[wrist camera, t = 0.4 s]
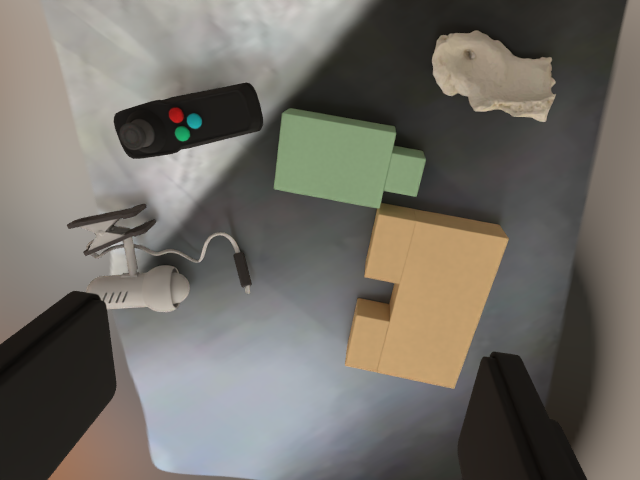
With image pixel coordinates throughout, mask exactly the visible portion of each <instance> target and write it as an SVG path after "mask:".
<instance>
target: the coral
mask: <svg viewBox="0 0 640 480" xmlns="http://www.w3.org/2000/svg"><path fill="white" fill-rule="evenodd" d="M551 61H552V58H551V57H548V58H545V57H541V58H540V59H535V60H534V59H530V58H526V59H522V58H518V57H516V56H514V55H512V53H511V52H510V51H509V50H508V49H507V48H506V47H505V46H504V45H503V44H502V43H501V42H500V41H498V40H496V41H495V40H492V39H491V38H490V37H489V36H488V35H486V34H483V33H481V32H479V31H473V32H471V33H467V34H464V33H455V34H452V33H451V34H449V35H448V36H446V35H441V36H440V37H439V39H438V40H437V44H436V48H435V51H434V54H433V58H432V64H433V75H434V77H435V79H436V82H437V84H438V85H439V86H440V88H441V89H442V91H443V93H445V94H447V95H449V96H453V95H455V94H456V93H459V94H461V95H463V96H468V98H469V102H470V105H471V106H472V107H473V109H474V111H482V112H483V111H488V110H493V109H500V110H503V111H505V112H506V113H509V114H511V115H512V116H514V117H532V118H534V119H536V120H538V121H540V122H545V121H546V119H547V114H548V111H549V109H550V107H551V105H552V103H553V101H554V98H555V96H556V94H555V95H554V94H553V93H552V92H551V87H552V86H553V85H554V84H555V83H556V82H555V80H554V79H553V78H551V75H552V74H551V70H552V66H551V64H550V62H551Z"/></svg>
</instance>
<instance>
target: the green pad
mask: <svg viewBox="0 0 640 480" xmlns="http://www.w3.org/2000/svg"><path fill="white" fill-rule="evenodd" d="M395 137H396V129H395V126H389V125H384V124H378V123H372V122H367V121H361V120H355V119H350V118H344V117H338V116H332V115H327V114H321V113H315V112H310V111H304V110H298V109H293V108H290V109H288V110H286V111H285V112H283V113H282V119H281V128H280V137H279V146H278V155H277V164H276V173H275V182H274V189H277V190H282V191H287V192H293V193H298V194H303V195H309V196H314V197H319V198H325V199H330V200H335V201H341V202H346V203H351V204H357V205H362V206H367V207H373V208H378V209H379V208H380V204H381V200H382V195H383V191H387V192H393V193H398V194H403V195H409V196H414V197H416V196H417V193H418V189H419V185H420V181H421V177H422V173H423V170H424V166H425V162H426V158H425V156H424V153H423V151H420V150H415V149H409V148H404V147H398V146H394V141H395Z"/></svg>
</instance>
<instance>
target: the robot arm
mask: <svg viewBox="0 0 640 480" xmlns="http://www.w3.org/2000/svg"><path fill="white" fill-rule="evenodd" d="M115 391H116V376H115V369H114V361H113V354H112V345H111V338H110V330H109V322H108V315H107V307H106V303H105V302H104V301H101V298H100V296H99V295H97V294H93V293H87V292H79V291H73V292H71V293H69V294H67V295H66V296H65V297H63V298H62V299H61V300H59V301H58V302H57V303H55V304H54V305H53V306H51V307H50V308H49V309H47V310H46V311H45V312H43V313H42V314H41V315H39V316H38V317H37V318H35V319H34V320H33V321H31V322H30V323H29V324H27V325H26V326H24V327H23V328H22V329H20V330H19V331H18V332H17V333H15V334H14V335H12V336H11V337H10V338H8V339H7V340H6V341H4V342H3V343H2V344H0V480H48V478H49V477H50V476H51V475H52V473H53V472H54V471H55V470H56V468H57V467H58V466H59V464H60V463H61V462H62V461H63V459H64V458H65V457H66V456H67V454H68V453H69V452H70V451H71V450H72V448H73V447H74V446H75V444H76V443H77V442H78V441H79V440H80V438H81V437H82V436H83V434H84V433H85V432H86V431H87V429H88V428H89V427H90V425H91V424H92V423H93V422H94V421H95V419H96V418H97V417H98V416H99V414H100V413H101V412H102V411H103V409H104V408H105V407H106V406H107V404H108V403H109V402H110V401H111V399H112V398H113V396H114V394H115ZM458 459H459V464H460V469H461V474H462V479H463V480H587V478H586V476H585V474H584V472H583V470H582V468H581V466H580V464H579V462H578V460H577V458H576V456H575V454H574V452H573V450H572V448H571V446H570V444H569V442H568V440H567V438H566V436H565V434H564V432H563V430H562V428H561V426H560V425H559V423H558V422H556V421H555V420H553V419H549V416H548V414H547V412H546V410H545V408H544V406H543V404H542V402H541V399H540V397H539V395H538V393H537V391H536V389H535V387H534V385H533V383H532V380H531V378H530V376H529V374H528V372H527V370H526V368H525V366H524V363H523V361H522V359H521V358H520V356H518V355H514V354H507V353H500V352H492V353H491V355H490V357H483V358H482V360H481V362H480V366H479V370H478V373H477V377H476V380H475V384H474V387H473V391H472V394H471V398H470V401H469V405H468V408H467V412H466V416H465V419H464V423H463V426H462V430H461V433H460V437H459V441H458Z"/></svg>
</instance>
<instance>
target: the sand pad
mask: <svg viewBox="0 0 640 480" xmlns="http://www.w3.org/2000/svg"><path fill="white" fill-rule="evenodd" d="M508 240H509V238H508V237H507V235H506V234H505V232H504V231H503V229H502V228H501V226H500V225H497V224H492V223H487V222H481V221H476V220H471V219H465V218H460V217H454V216H449V215H444V214H438V213H433V212H428V211H422V210H417V209H412V208H406V207H401V206H396V205H390V204H385V203H381V204H380V208H379V209H378V208H377V212H376V217H375V222H374V226H373V231H372V235H371V240H370V244H369V249H368V254H367V258H366V265H365V277H367V278H372V279H377V280H382V281H387V282H392V283H394V287H393V291H392V295H391V299H390V303H389V304H386V303H381V302H376V301H371V300H366V299H361V298H358V299H357V304H356V308H355V313H354V318H353V322H352V327H351V331H350V336H349V340H348V345H347V352H346V361H345V366H349V367H354V368H359V369H364V370H368V371H373V372H377V373H382V374H387V375H391V376H396V377H401V378H406V379H410V380H415V381H420V382H425V383H429V384H434V385H439V386H444V387H448V388H453V389H454V388H455V385H456V382H457V379H458V377H459V374H460V371H461V368H462V366H463V363H464V360H465V358H466V355H467V352H468V349H469V347H470V344H471V341H472V338H473V336H474V333H475V330H476V327H477V325H478V322H479V319H480V316H481V314H482V311H483V308H484V306H485V303H486V300H487V297H488V295H489V292H490V289H491V286H492V284H493V281H494V278H495V275H496V273H497V270H498V267H499V264H500V262H501V259H502V256H503V254H504V251H505V248H506V245H507V243H508Z"/></svg>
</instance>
